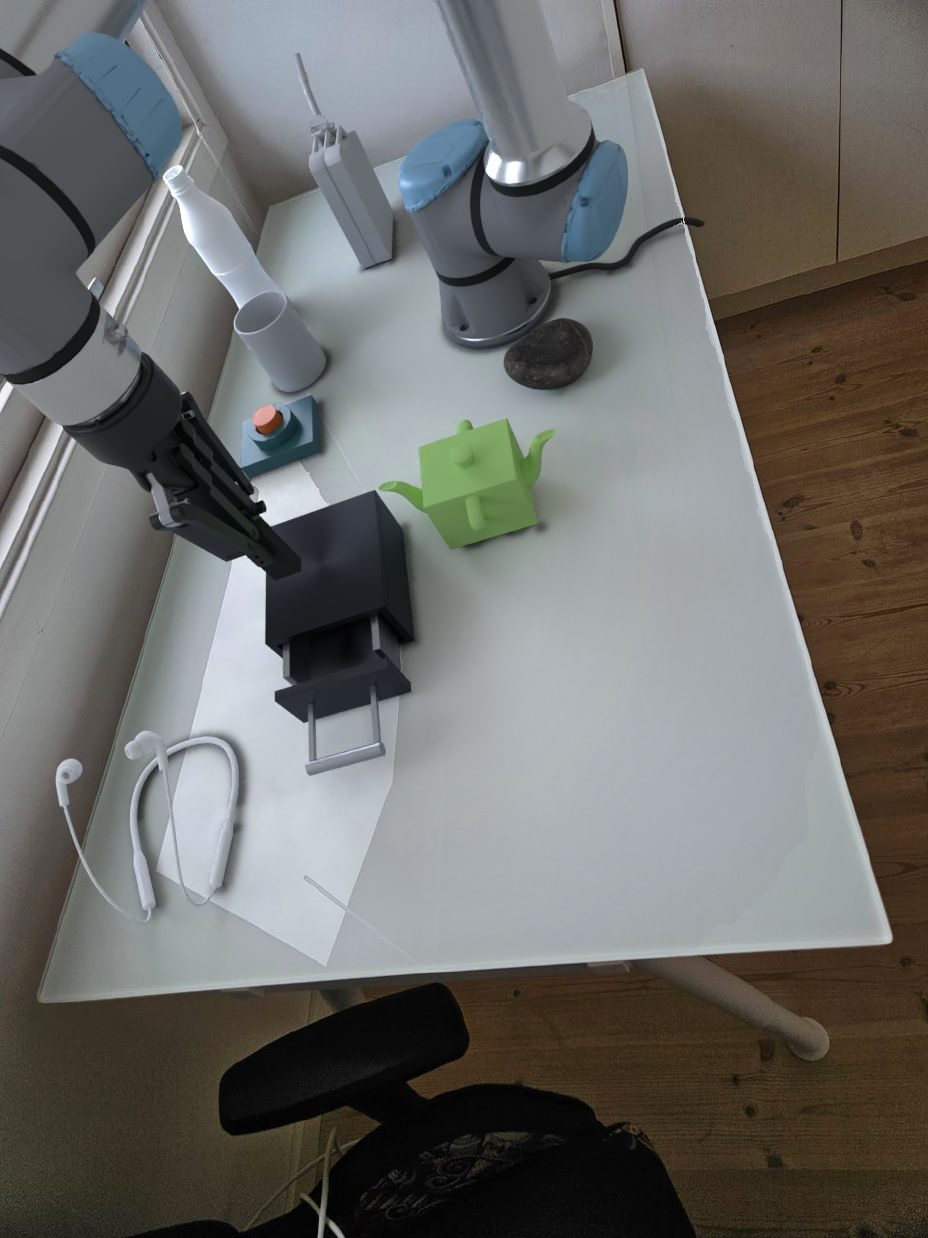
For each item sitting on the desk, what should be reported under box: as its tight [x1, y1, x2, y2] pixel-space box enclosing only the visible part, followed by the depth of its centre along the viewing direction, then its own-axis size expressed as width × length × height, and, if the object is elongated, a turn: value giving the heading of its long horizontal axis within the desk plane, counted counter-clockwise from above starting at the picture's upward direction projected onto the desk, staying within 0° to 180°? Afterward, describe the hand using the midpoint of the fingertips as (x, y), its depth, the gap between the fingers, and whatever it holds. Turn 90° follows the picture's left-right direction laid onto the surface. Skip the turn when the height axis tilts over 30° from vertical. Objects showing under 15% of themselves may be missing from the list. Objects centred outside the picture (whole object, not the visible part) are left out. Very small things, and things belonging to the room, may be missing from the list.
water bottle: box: [162, 164, 283, 311], centre depth 118 cm, size 7×7×25 cm
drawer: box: [274, 613, 413, 777], centre depth 85 cm, size 22×13×6 cm, turn 7°
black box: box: [264, 489, 416, 660], centre depth 91 cm, size 16×14×8 cm
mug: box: [233, 290, 327, 393], centre depth 115 cm, size 12×8×11 cm
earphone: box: [55, 730, 240, 925], centre depth 84 cm, size 14×17×18 cm
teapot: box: [378, 418, 557, 550], centre depth 89 cm, size 15×13×11 cm
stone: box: [503, 317, 594, 391], centre depth 99 cm, size 11×11×5 cm
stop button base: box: [239, 394, 322, 479], centre depth 111 cm, size 11×9×4 cm
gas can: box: [292, 52, 394, 269], centre depth 119 cm, size 15×5×25 cm, turn 1°
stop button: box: [251, 404, 282, 434], centre depth 109 cm, size 4×4×2 cm
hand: (287, 569), depth 73 cm, fingers closed
